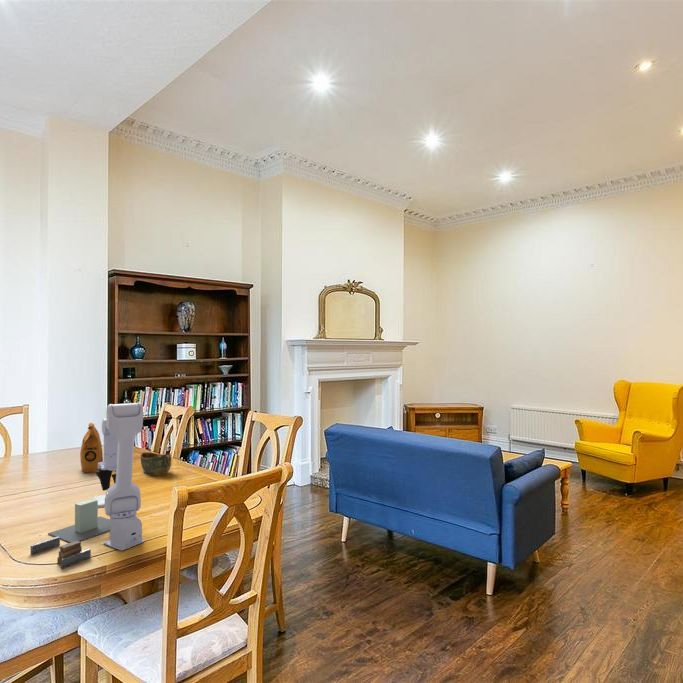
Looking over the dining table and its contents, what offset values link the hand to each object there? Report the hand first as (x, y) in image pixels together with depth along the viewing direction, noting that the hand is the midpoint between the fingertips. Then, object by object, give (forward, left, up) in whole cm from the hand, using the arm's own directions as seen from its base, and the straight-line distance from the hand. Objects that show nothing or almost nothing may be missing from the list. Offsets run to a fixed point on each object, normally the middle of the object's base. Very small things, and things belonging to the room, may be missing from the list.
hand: (112, 491), depth 171 cm
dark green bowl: (+39, -48, -11) cm, 63 cm away
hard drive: (+21, -11, -11) cm, 26 cm away
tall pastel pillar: (0, +9, -10) cm, 14 cm away
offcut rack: (-12, +25, -10) cm, 29 cm away
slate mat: (0, +9, -10) cm, 14 cm away
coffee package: (+70, -35, -11) cm, 79 cm away
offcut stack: (-17, +24, -10) cm, 32 cm away
